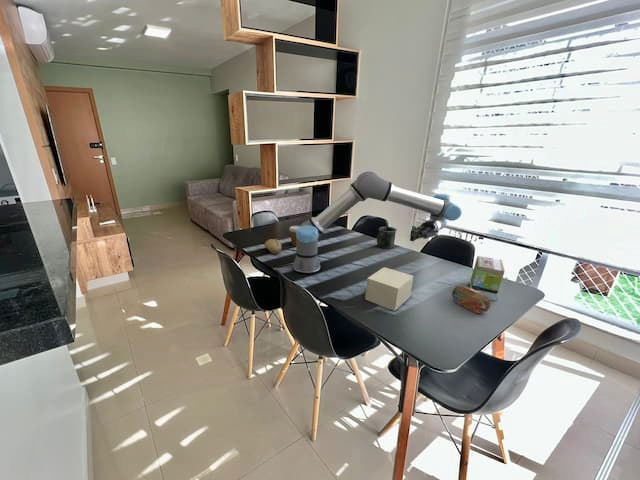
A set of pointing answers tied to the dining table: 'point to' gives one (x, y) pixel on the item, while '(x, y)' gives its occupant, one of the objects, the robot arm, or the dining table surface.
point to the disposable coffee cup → (293, 234)
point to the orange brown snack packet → (471, 299)
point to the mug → (386, 237)
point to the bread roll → (273, 246)
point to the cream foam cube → (388, 288)
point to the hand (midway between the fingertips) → (411, 238)
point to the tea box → (487, 276)
